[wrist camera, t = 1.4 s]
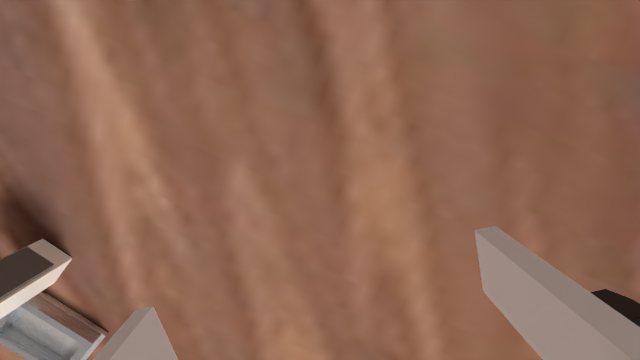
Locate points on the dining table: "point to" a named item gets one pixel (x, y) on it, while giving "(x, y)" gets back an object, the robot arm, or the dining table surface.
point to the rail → (49, 331)
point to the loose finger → (29, 273)
